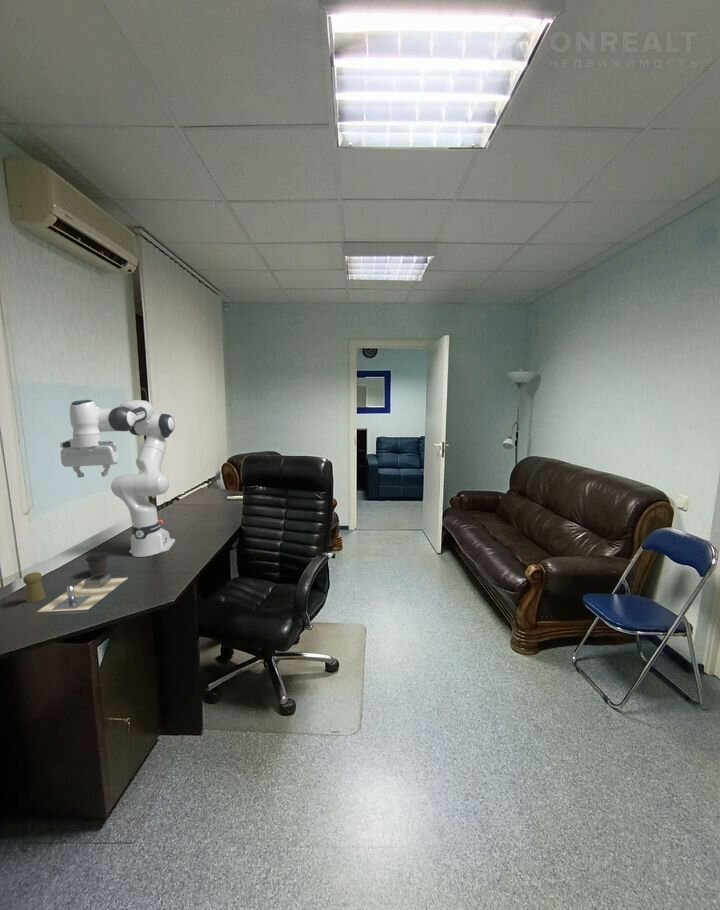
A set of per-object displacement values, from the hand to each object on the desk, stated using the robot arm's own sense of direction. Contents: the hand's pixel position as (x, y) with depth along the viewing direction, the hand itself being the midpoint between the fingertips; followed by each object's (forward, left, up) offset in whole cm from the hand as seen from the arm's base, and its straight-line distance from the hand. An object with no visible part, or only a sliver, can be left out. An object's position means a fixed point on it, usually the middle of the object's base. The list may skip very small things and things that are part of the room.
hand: (93, 476), depth 148 cm
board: (+12, -1, -44) cm, 46 cm away
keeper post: (+19, -1, -43) cm, 47 cm away
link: (+5, -1, -43) cm, 43 cm away
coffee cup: (-5, -7, -44) cm, 45 cm away
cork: (+14, -18, -44) cm, 50 cm away
